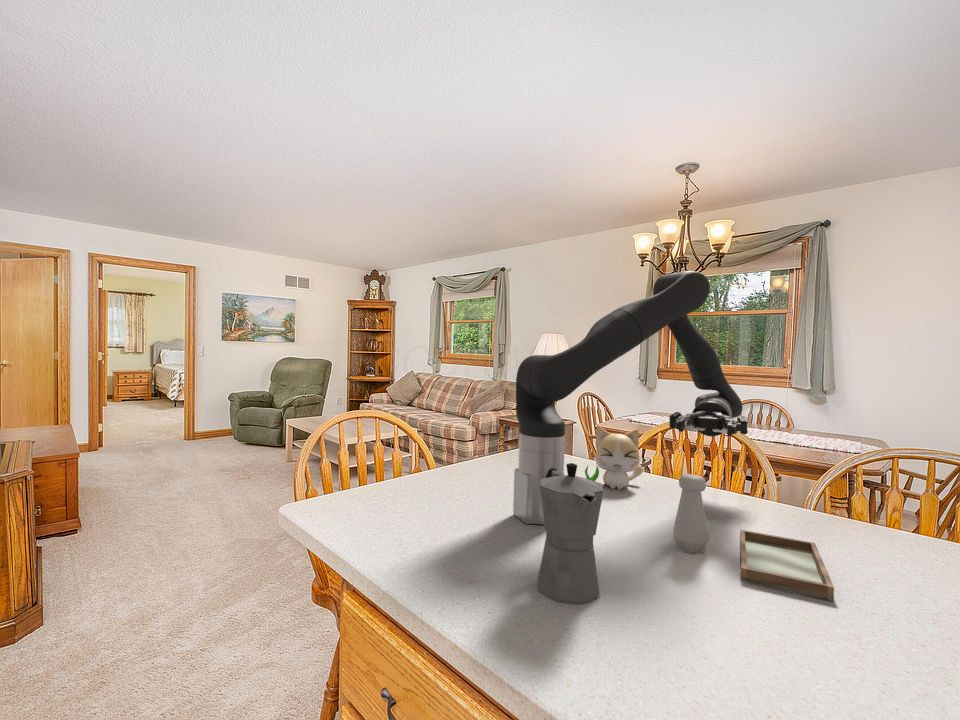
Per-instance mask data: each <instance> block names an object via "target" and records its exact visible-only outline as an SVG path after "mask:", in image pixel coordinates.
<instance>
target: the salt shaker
mask: <svg viewBox="0 0 960 720" xmlns="http://www.w3.org/2000/svg"><path fill="white" fill-rule="evenodd" d="M678 486H679V488H681V493H680V497H679V503H678V507H677V511H676V516H675V520H674V524H673V530H672V536H673V540H674V541H675V545H676V547H677V548H678V549H679V550H680V551H681V552H684V553H687V554H692V555H697V554H703V553H704V552H703V551H705V548H706V546H707V544H708V543H709V541H710V536H709V531H708V524H707V519H706V514H705V508H704V506H705V505H704V502H703V501H704V500H703V496H702V492H704V491H705V490H706V487H707V481H706V479H705V478H704V477H703V476H701V475H697V474H694V473H685V474H682V475H681V476H680V477H679V479H678Z"/></svg>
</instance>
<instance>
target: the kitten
mask: <svg viewBox="0 0 960 720" xmlns="http://www.w3.org/2000/svg"><path fill="white" fill-rule="evenodd" d="M639 433H640V432H639V430H638V429H637V428H635V429H633V430H631V431H629V432H627V433H624V434H622V433H610V432H608V431H607V430H605V429H604V428H603V427H601V426H597V427H596V432H595V434H596V435H595V456H594V459H595V464H596V468H595V471H594V473H593V474H592V476H591V477H590V475H589V473H588V469H589V465H587V466H586V468H585V470H584V474H585V477H586V479H589V480H592V481H596V480H597V479H598V478H599V475H600V469H602V470H605V472H604V473H603V476H602V480H603V483H604V484H605V486H606V485H607V486H609V487H610V488H611V489H612V490H614V489H616V488H617V489H618V490H619V491H620V490H622V489H623V488H625V487H627V486H628V485H629V483H630V481H633V480H635V479H636V478H637V477H638V476H640V475H642V474H643V473H644V467H643V466H642V465H641V464H640V459H641V458H640V452H639V447H640V442H639V437H640V436H639ZM599 468H600V469H599ZM630 472H632V473H630ZM628 473H630V474H628Z"/></svg>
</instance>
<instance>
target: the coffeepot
mask: <svg viewBox="0 0 960 720" xmlns="http://www.w3.org/2000/svg"><path fill="white" fill-rule="evenodd" d="M565 465H566V471H567V475H566V474H565V473H563V472H561V471H558V470H557V469H555V468H550V469H549V470H548V472H547V474H546V477H545V478H543V479H541V483H540V488H541V498H542V507H543V516H544V531H545V533H546V534H545V541H544V545H543V551H542V556H541V562H540V567H539V571H538V577H537V587H536V588H537V590H538V591H539V592H540V593H541V594H542V595H544V596H545V597H547V598H548V599H550V600H553V601H557V602H559V603H562V604H563V603H564V604H572V605H574V604H575V605H577V604H584V603H585V604H586V603H590V602H592V601H594V600H596V598H597V597H599V596H600V588H599V580H598V573H597V564H596V555H595V547H594V537H595V536H596V534H597V529H598V528H597V527H598V522H599V518H600V513H601V506H602V501H603V495H604V487H603V484H602V483H601V482H599V481H598V482H597V481H596V480H595V481H592V480H589V479H586V478H585V477H582V476H578V475H576V473H577V469H578V464H576V463H573V462H571V463H566V464H565Z"/></svg>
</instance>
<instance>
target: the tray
mask: <svg viewBox="0 0 960 720" xmlns="http://www.w3.org/2000/svg"><path fill="white" fill-rule="evenodd" d="M739 532H740V533H739V551H740V552H739V555H740V556H739V557H740V558H739V559H740V561H739V563H740V582H743V583H744V582H745V583H748V584H754V585H757V586H762V587H767V588H769V589H770V588H771V589H775V590H780V591H784V592H788V593H793V594H796V595H802V596H806V597H810V598H816V599H818V600H824V601H828V602H833V603H834V601H835V599H834V597H835V586H834V584H833V582H832V579H831V577H830V575H829V573H828V570H827V568H826V565H825V563H824V561H823V558H822V556H821V554H820V552H819V549H818V547H817V545H816V543H815V542H812V541H806V540H801V539H796V538H790V537H783V536H778V535H775V534H774V535H772V534H768V533H762V532H758V531H757V532H756V531H752V530H745V529H740V531H739Z"/></svg>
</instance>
